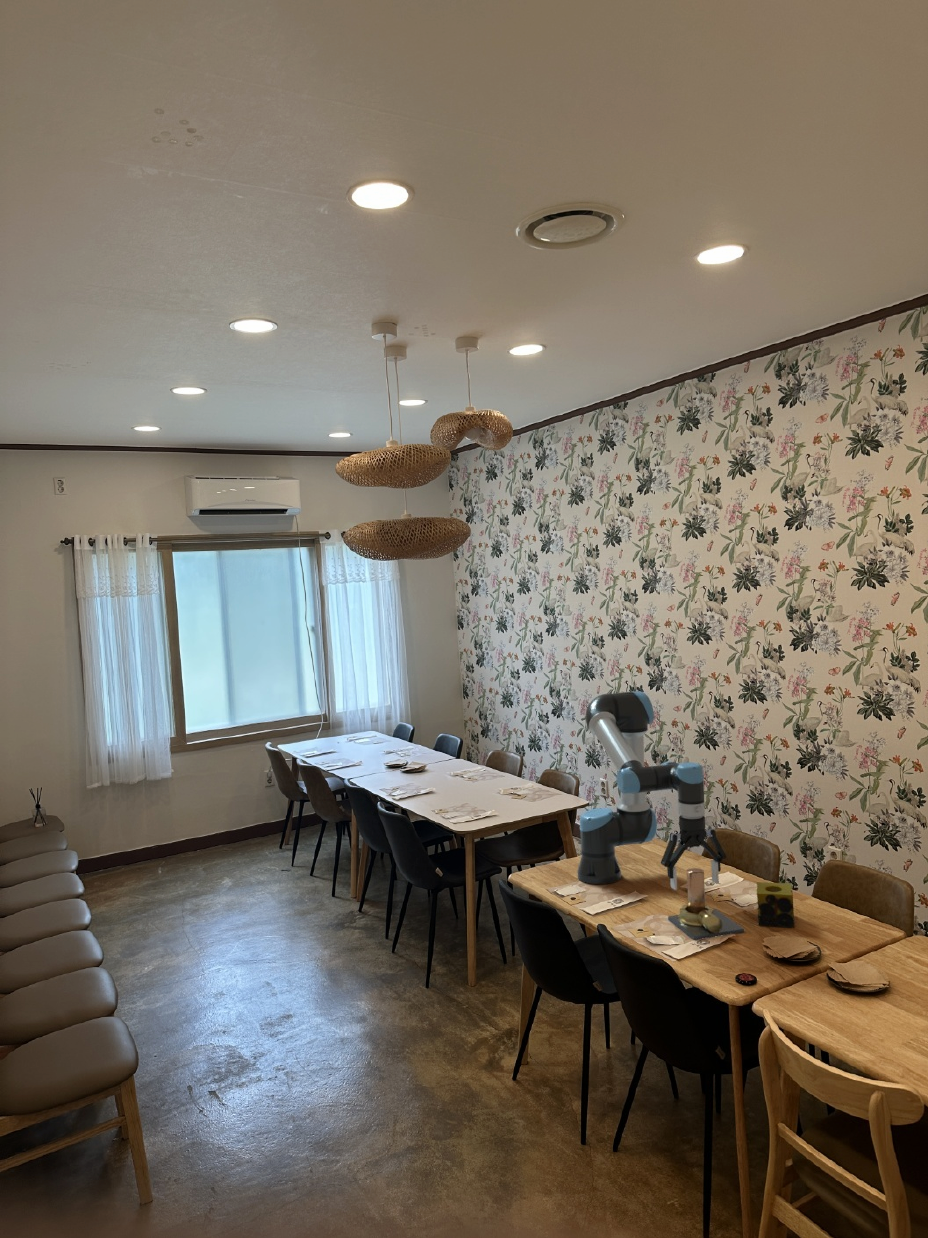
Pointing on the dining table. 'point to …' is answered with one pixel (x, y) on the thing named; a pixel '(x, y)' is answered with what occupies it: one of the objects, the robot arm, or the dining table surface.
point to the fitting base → (704, 931)
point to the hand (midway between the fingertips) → (694, 885)
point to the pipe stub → (695, 890)
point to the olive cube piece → (775, 904)
